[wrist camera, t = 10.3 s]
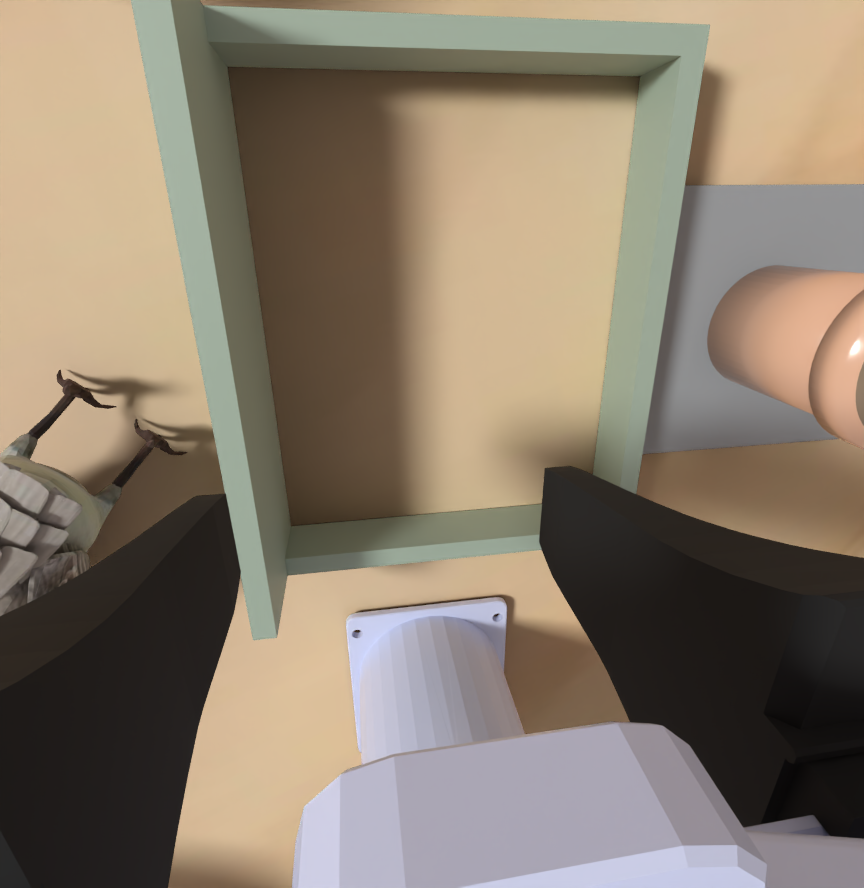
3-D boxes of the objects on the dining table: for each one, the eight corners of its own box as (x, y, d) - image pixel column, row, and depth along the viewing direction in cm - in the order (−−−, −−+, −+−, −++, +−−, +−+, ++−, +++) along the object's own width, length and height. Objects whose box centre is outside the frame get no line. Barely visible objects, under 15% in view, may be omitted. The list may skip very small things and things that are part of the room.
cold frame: (603, 512, 26) (673, 591, 20) (274, 543, 23) (253, 640, 18) (664, 49, 18) (800, -25, 13) (196, 34, 16) (119, -62, 11)
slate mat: (835, 433, 26) (846, 438, 25) (625, 449, 24) (632, 454, 24) (912, 185, 21) (927, 184, 21) (663, 186, 20) (672, 185, 19)
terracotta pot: (805, 388, 24) (975, 450, 17) (687, 396, 23) (819, 462, 17) (842, 253, 22) (1053, 265, 15) (712, 256, 21) (877, 271, 14)
